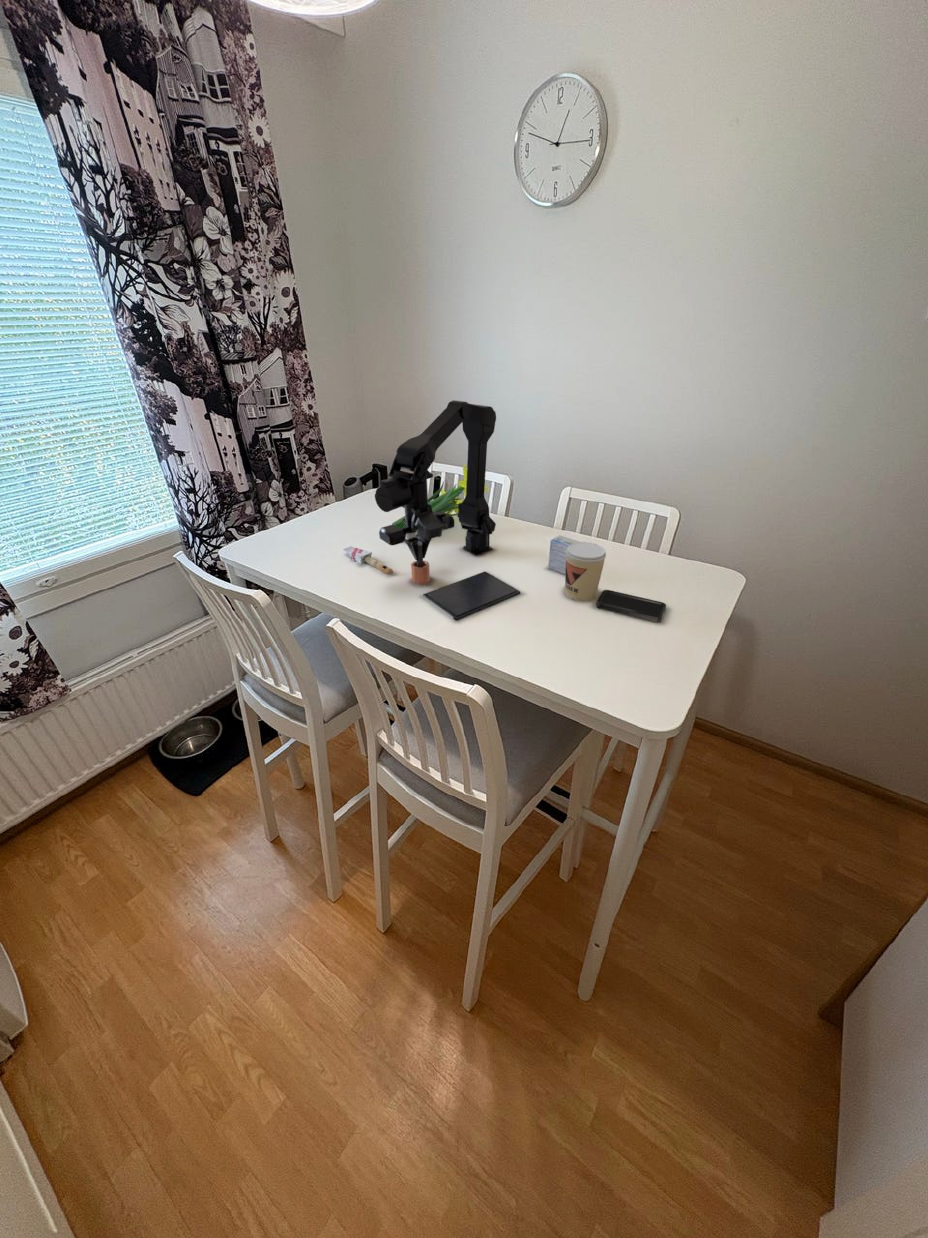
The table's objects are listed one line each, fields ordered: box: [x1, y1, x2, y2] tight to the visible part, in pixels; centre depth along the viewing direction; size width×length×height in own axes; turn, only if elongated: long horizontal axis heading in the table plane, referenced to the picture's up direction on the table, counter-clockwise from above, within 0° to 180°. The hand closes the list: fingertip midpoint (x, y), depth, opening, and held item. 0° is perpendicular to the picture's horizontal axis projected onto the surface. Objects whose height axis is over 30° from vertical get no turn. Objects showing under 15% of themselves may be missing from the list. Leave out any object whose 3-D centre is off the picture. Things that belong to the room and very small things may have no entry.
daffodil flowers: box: [391, 461, 490, 538], centre depth 156 cm, size 17×15×35 cm
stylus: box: [416, 542, 424, 567], centre depth 125 cm, size 2×2×10 cm
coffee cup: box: [564, 541, 607, 602], centre depth 119 cm, size 9×9×12 cm
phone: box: [595, 589, 667, 623], centre depth 116 cm, size 8×1×15 cm
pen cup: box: [410, 560, 431, 585], centre depth 127 cm, size 5×5×5 cm
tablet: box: [422, 571, 521, 622], centre depth 122 cm, size 20×14×1 cm
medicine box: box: [547, 534, 581, 575], centre depth 131 cm, size 8×4×9 cm, turn 47°
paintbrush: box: [342, 546, 394, 575], centre depth 137 cm, size 4×3×20 cm
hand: (419, 558), depth 125 cm, fingers closed on stylus, 1 cm apart
